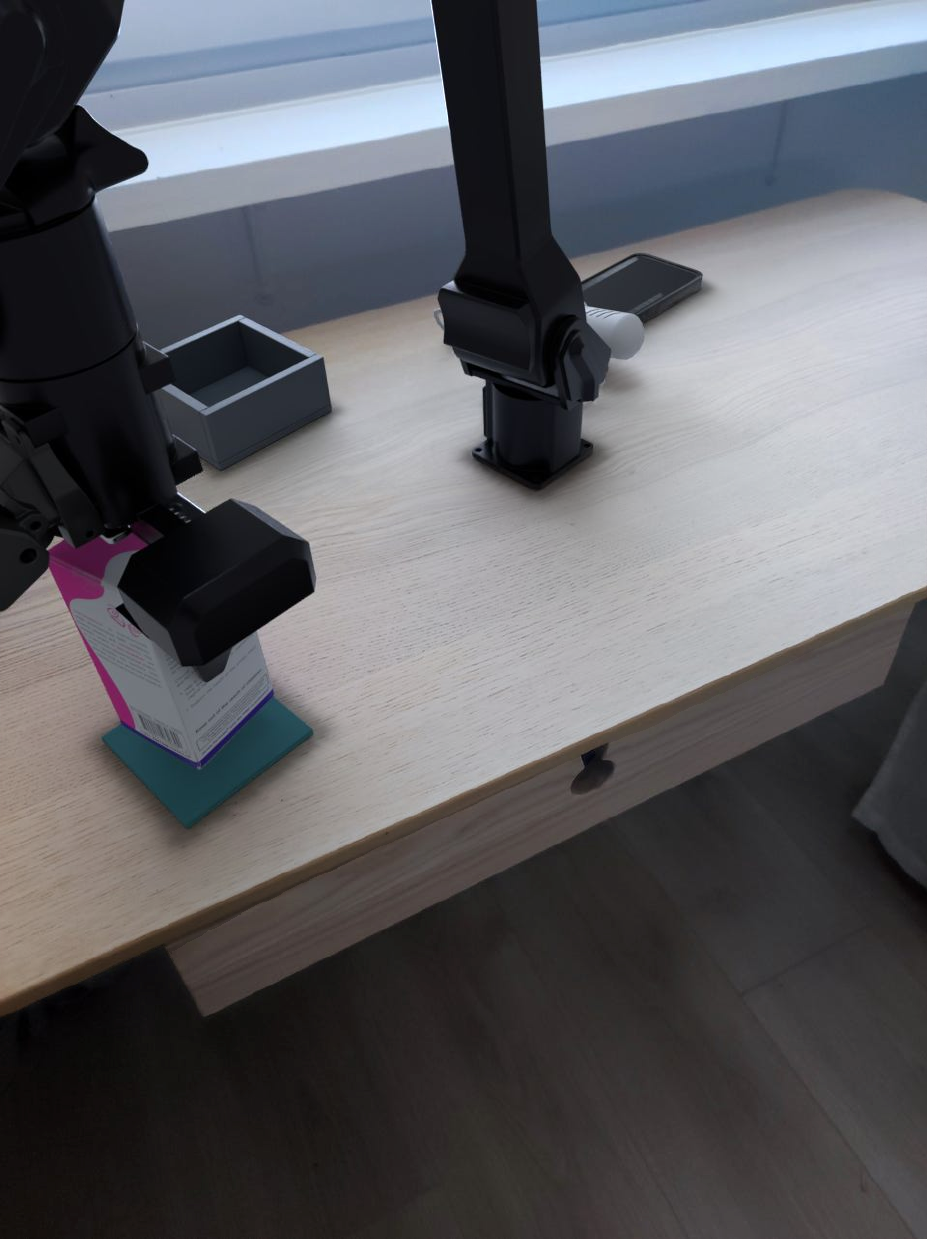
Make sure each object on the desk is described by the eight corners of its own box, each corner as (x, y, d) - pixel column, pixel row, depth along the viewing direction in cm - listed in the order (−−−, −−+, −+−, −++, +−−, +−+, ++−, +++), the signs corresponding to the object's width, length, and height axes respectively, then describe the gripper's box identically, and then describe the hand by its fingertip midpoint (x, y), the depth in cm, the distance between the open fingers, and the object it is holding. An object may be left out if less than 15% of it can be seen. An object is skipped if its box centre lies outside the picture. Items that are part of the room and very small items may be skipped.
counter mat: (313, 733, 48) (312, 729, 48) (187, 829, 44) (185, 825, 44) (226, 659, 52) (224, 654, 52) (103, 741, 48) (100, 736, 48)
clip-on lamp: (415, 386, 78) (562, 428, 66) (393, 316, 75) (545, 346, 62) (511, 327, 83) (666, 355, 70) (495, 258, 79) (656, 275, 67)
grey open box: (332, 410, 71) (324, 356, 68) (220, 471, 66) (205, 416, 62) (251, 365, 76) (239, 314, 73) (142, 418, 71) (124, 365, 68)
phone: (534, 306, 79) (638, 250, 86) (534, 318, 80) (637, 261, 87) (605, 334, 75) (709, 273, 82) (604, 347, 76) (707, 285, 83)
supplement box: (279, 692, 47) (231, 521, 39) (200, 773, 44) (128, 605, 36) (199, 651, 50) (137, 481, 41) (117, 725, 46) (32, 556, 38)
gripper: (-272, 343, 33) (-74, 638, 44) (-52, 573, 23) (130, 875, 35) (14, 242, 38) (126, 527, 49) (287, 396, 29) (350, 706, 40)
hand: (173, 641), depth 43 cm, fingers closed on supplement box, 6 cm apart
